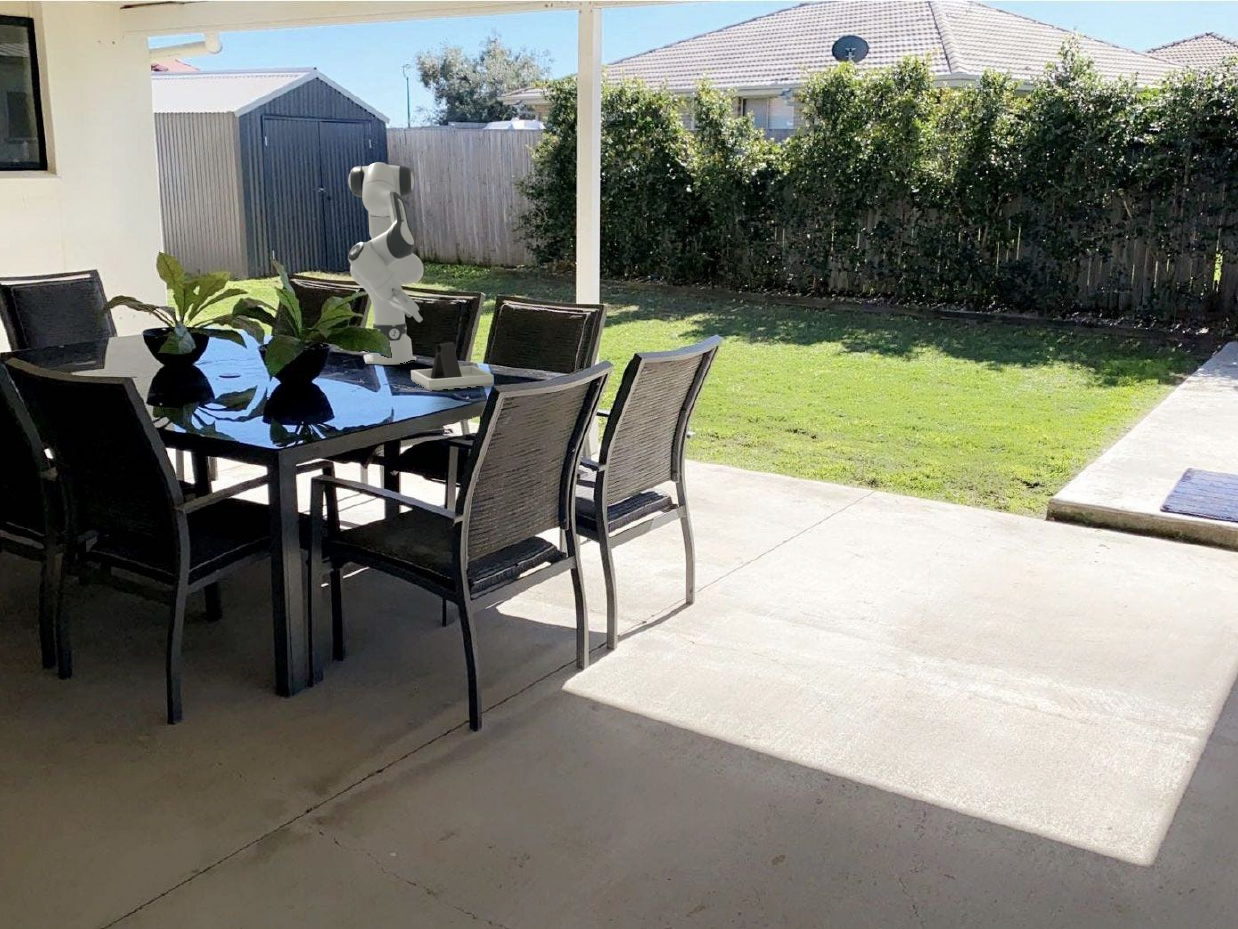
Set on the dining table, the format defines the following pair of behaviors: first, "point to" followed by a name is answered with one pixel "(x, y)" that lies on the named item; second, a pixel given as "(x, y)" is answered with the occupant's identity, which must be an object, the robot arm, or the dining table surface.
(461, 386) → the tray
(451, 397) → the dining table surface
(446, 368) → the dark brown triangular stand
